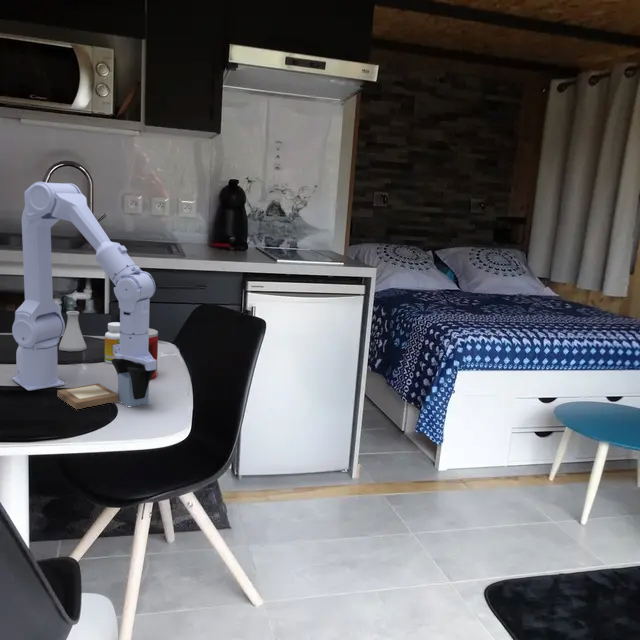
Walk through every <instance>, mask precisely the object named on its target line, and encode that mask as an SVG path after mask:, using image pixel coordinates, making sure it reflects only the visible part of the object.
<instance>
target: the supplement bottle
mask: <svg viewBox="0 0 640 640" xmlns="http://www.w3.org/2000/svg"><path fill="white" fill-rule="evenodd" d="M107 330H108V331H107V332H105V335H104V362H106V364H111V365H113V364H112V359H117V358H115V357H114V354H113V345H118V344H120V321H119V322H118V321H116V322H115V321H114V322H113V321H112V322H108V323H107Z"/></svg>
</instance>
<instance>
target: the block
mask: <svg viewBox="0 0 640 640" xmlns="http://www.w3.org/2000/svg"><path fill="white" fill-rule="evenodd" d="M117 376H118V377H117V378H118V379H117V382H118V384H117V394H118V395H119V401H120V402H122V403H124V404H125V405H127V406H133V407H136V406H135V405H138V406H141V405H140V404H143V405H147V404H146V403H148V404H149V397H150V395H149V394H150V393H149V389H150V386H149V385H150V384H149V385H148V388H147V391H146V395H145V398H142V399H137V400H136V399H134V396H133V388H132V380H131V377H130V374H129V372H126V373H120V374H117ZM120 402H119V403H120ZM122 403H121V404H122ZM124 404H123V405H124ZM125 405H124V406H125ZM127 406H126V407H127Z"/></svg>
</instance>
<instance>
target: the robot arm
mask: <svg viewBox="0 0 640 640" xmlns="http://www.w3.org/2000/svg"><path fill="white" fill-rule="evenodd" d="M59 220H62V221H63V220H64V221H68V222H70V223H72V224H73V226H75V228H76V229H77V230H78V231H79V233H80V234H82V236H83V237H84V238H85V239H86V241H87V242H88V243H89V244H90V245H91V247H92V248H93V249H94V250H95V261H96V262H97V264H99V266H100V267H101V268H102V270H103V271H104V272H105V274H106V276H107V277H108V278H109V279H110V280H111V282H112V283H113V285H114V286H115V287H113V292H114V293H113V294H114V295H115V297H116V299H117V301H118V308H119V323H120V344H118V345H113V354H114V357H115V358H117V359H112V364H111V365H113V367H114V369H115V371H116V373H117V375H118V374H120V373H126V372H129V374H130V377H131V380H132V388H133V396H134V399H136V400H137V399H142V398H145V395H146V391H147V388H148V385H150V383H151V382H150V381H151V380H150V379H151V377H152V376H153V374H154V372H155V371H156V364H157V365H158V359H157V360H155V359H153V357H152V356H151V354H150V353H149V352H148V346H149V328H150V301H151V300H150V298H153V296H154V294H155V292H156V283H155V280H154V278H153V276H152V274H150V273H149V272H148V271H143V270H142V269H141V267H140V266H138V265H136V263H135V262H134V260H133V259H132V258H131V257H130V256H129V254H128V253H127V251H128V249H127V248H126V247H125V245H121V244H120V242H115V241H111V240H110V237H108V235H107V233H106V232H105V231H104V229H103V228H102V225H101V224H100V222H99V221H98V220H97V218H96V217H95V214H94V213H93V212H92V211H91V209H90V207H89V206H88V200H87V196H85V195H84V194H83V193H82V191H81V190H80V188H79V187H78V185H76V184H74V183H71V182H64V183H63V182H61V183H60V182H58V183H57V182H44V181H36V182H34V183H32V184H31V185H30V186H29V187H28V188H27V189H25V190H24V207H23V211H22V215H21V235H22V238H21V239H22V255H23V256H22V261H23V285H24V286H23V289H24V301H23V302H22V304H21V305H20V306H19V307H18V308H17V309H16V310H15V312H14V321H13V323H12V328H11V332H12V336H13V339H14V340H15V342H16V343H17V344H18V347H17V349H16V351H15V352H16V376H13V377H12V378H11V379H12V380H13V382H15V383H16V384H18V385H20V387H22V388H24V389H25V390H27V391H36V390H41V389H47V388H53V387H59V386H65V385H66V383H65V381H63V380H61V379H60V378H58V343H60V338H61V337H63V335H64V332H65V329H66V324H65V323H66V322H65V320H64V318H63V316H62V308H61V306H60V305H59V304H58V303H57V302H55V301H54V297H53V296H54V294H53V291H54V290H53V289H54V288H53V269H52V268H53V265H52V264H53V262H52V261H53V259H52V233H51V228H52V227H53V226H54V225H56V223H58V222H59Z"/></svg>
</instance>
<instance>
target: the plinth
mask: <svg viewBox="0 0 640 640" xmlns="http://www.w3.org/2000/svg"><path fill="white" fill-rule="evenodd" d="M56 391H57V393H56V394H57V397H59V398H60V399H61V400H60V399H59V398H58V399H59V400H60V401H62V400H63V401H64V402H63V401H62V402H63V403H65V402H66V403H67V404H66V403H65V404H66V405H68V404H69V405H70V406H72V407H73V408H75V409H76V410H75V409H74V410H75V411H78V410H77V409H82V408H86V407H92V406H97V405H102V404H106V403H112V404H114V403H113V402H117V401H119V395H118V393H116V392H114V390H113V391H112V390H111V389H110V388H108V387H106V386H104V385H102V384H101V383H92V384H87V385H81V386H74V387H69V388H63V389H58V390H56ZM117 403H118V402H117ZM69 405H68V406H69ZM70 406H69V407H70ZM102 406H103V405H102ZM72 407H71V408H72ZM97 407H98V406H97ZM73 408H72V409H73ZM92 408H93V407H92ZM82 410H83V409H82Z"/></svg>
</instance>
